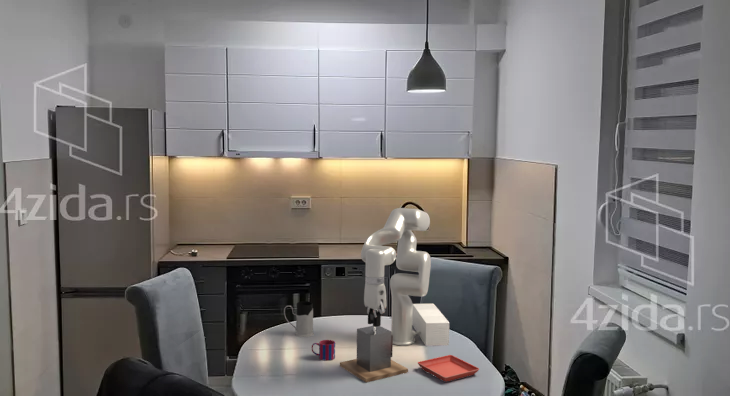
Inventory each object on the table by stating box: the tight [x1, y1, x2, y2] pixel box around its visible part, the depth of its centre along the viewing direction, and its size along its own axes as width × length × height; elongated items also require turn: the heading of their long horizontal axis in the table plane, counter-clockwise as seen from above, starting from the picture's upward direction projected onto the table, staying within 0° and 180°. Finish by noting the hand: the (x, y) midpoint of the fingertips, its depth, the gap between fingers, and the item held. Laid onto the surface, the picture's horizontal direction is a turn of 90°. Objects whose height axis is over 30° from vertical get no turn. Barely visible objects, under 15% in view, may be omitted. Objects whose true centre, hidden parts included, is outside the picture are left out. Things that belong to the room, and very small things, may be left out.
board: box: [339, 358, 409, 383], centre depth 253 cm, size 20×20×2 cm
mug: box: [311, 339, 336, 362], centre depth 266 cm, size 7×10×7 cm
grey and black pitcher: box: [283, 300, 315, 338], centre depth 295 cm, size 9×14×15 cm, turn 89°
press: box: [356, 325, 394, 372], centre depth 253 cm, size 13×10×15 cm
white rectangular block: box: [412, 303, 450, 347], centre depth 298 cm, size 32×11×11 cm, turn 7°
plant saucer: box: [417, 354, 480, 383], centre depth 251 cm, size 18×18×3 cm
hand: (374, 324), depth 251 cm, fingers closed on plunger, 3 cm apart
